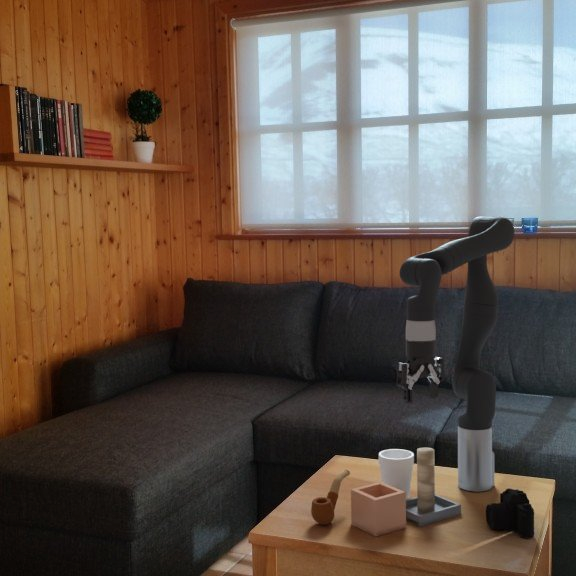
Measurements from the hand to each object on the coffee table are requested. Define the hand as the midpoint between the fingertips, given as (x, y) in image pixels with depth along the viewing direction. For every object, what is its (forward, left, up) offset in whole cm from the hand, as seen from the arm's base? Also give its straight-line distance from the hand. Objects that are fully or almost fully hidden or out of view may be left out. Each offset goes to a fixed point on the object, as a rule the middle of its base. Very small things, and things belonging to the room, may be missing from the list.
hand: (421, 400), depth 201 cm
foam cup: (-1, -11, -30) cm, 32 cm away
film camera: (-11, +18, -30) cm, 37 cm away
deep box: (+14, -1, -30) cm, 33 cm away
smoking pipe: (+20, -13, -30) cm, 38 cm away
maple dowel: (-1, 0, -29) cm, 29 cm away
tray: (-1, 0, -30) cm, 30 cm away
